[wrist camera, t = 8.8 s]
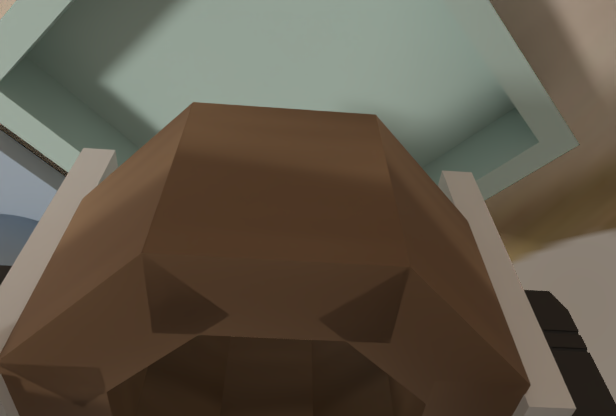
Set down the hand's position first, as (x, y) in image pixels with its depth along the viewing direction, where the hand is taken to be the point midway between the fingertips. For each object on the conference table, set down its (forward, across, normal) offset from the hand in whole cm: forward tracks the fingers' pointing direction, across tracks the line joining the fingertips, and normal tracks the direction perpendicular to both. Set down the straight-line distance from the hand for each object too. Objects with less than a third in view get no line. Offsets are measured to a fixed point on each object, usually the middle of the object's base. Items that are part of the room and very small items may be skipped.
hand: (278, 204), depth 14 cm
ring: (-2, 0, 0) cm, 2 cm away
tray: (+8, 0, 0) cm, 8 cm away
